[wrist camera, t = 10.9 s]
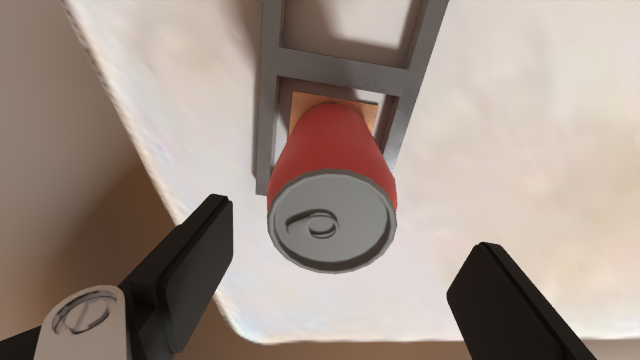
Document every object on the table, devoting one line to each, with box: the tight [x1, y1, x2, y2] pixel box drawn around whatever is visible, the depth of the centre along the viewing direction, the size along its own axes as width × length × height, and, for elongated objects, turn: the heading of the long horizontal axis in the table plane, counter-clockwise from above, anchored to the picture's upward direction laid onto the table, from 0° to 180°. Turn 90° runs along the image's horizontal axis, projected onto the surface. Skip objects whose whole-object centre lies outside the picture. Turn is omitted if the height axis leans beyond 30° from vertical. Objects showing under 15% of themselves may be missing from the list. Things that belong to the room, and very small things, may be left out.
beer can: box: [267, 103, 397, 274], centre depth 16 cm, size 7×7×12 cm
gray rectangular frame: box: [256, 0, 449, 196], centre depth 18 cm, size 12×23×2 cm, turn 171°
